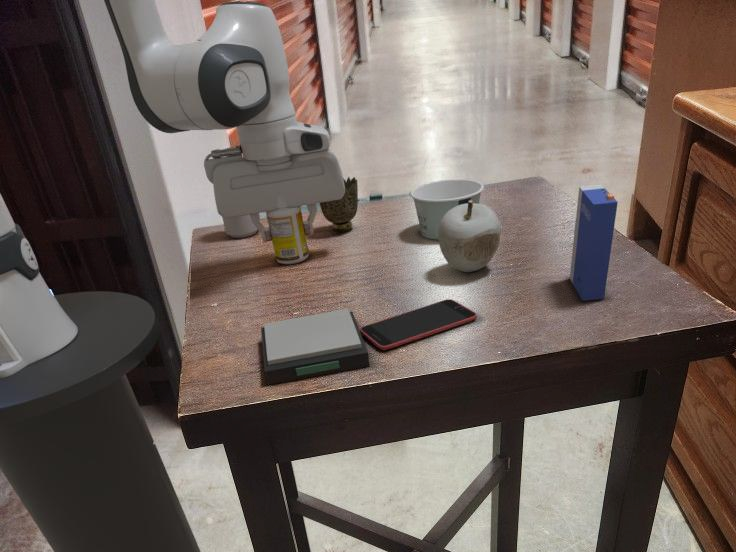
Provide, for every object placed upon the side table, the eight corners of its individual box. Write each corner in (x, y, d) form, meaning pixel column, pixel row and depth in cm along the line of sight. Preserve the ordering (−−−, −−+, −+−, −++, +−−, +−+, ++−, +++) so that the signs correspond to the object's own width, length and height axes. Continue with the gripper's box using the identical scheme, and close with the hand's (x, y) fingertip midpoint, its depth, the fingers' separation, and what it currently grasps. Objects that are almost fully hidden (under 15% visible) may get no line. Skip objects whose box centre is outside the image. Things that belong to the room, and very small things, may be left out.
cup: (361, 234, 108) (355, 185, 102) (320, 238, 109) (312, 190, 103) (364, 221, 113) (358, 174, 108) (325, 225, 114) (318, 178, 109)
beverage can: (232, 229, 119) (215, 160, 111) (264, 226, 118) (249, 157, 110) (223, 240, 114) (204, 169, 106) (256, 237, 113) (239, 166, 105)
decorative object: (471, 255, 94) (471, 185, 88) (512, 268, 89) (515, 194, 82) (427, 272, 91) (423, 200, 85) (466, 287, 85) (465, 212, 79)
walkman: (604, 299, 78) (618, 198, 70) (582, 301, 78) (593, 200, 70) (590, 276, 84) (601, 180, 76) (569, 277, 84) (578, 182, 76)
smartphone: (480, 314, 77) (382, 348, 73) (480, 319, 77) (382, 352, 73) (450, 297, 82) (356, 327, 78) (450, 301, 82) (357, 332, 78)
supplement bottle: (299, 251, 105) (287, 186, 98) (315, 258, 101) (304, 191, 94) (270, 260, 103) (256, 195, 96) (286, 268, 99) (272, 200, 92)
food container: (401, 229, 107) (398, 189, 103) (461, 214, 110) (461, 174, 106) (432, 248, 99) (430, 204, 94) (497, 231, 101) (498, 188, 97)
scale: (268, 385, 70) (263, 367, 69) (264, 340, 80) (259, 323, 78) (369, 366, 71) (367, 348, 70) (354, 324, 80) (351, 306, 79)
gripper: (199, 156, 87) (225, 254, 96) (339, 133, 89) (352, 232, 98) (201, 147, 92) (225, 241, 101) (333, 126, 94) (346, 221, 103)
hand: (288, 236), depth 100 cm, fingers closed on supplement bottle, 5 cm apart
